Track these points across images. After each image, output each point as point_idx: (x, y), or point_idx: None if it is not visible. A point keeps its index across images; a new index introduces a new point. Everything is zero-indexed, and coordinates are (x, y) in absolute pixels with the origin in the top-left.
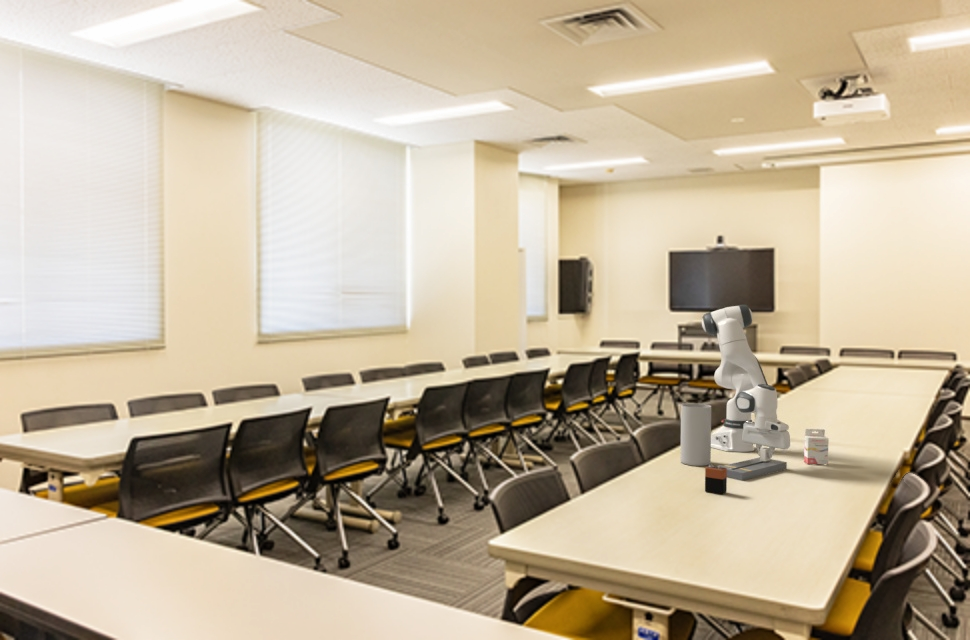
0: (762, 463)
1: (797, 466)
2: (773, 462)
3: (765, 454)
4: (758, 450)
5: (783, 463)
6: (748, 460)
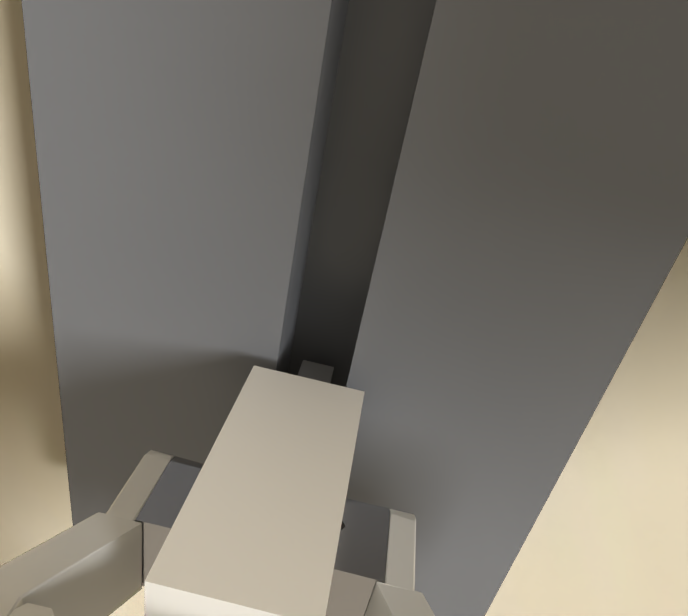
0: (266, 263)
1: (130, 612)
2: (174, 439)
3: (202, 472)
4: (411, 612)
5: (74, 478)
6: (590, 353)
